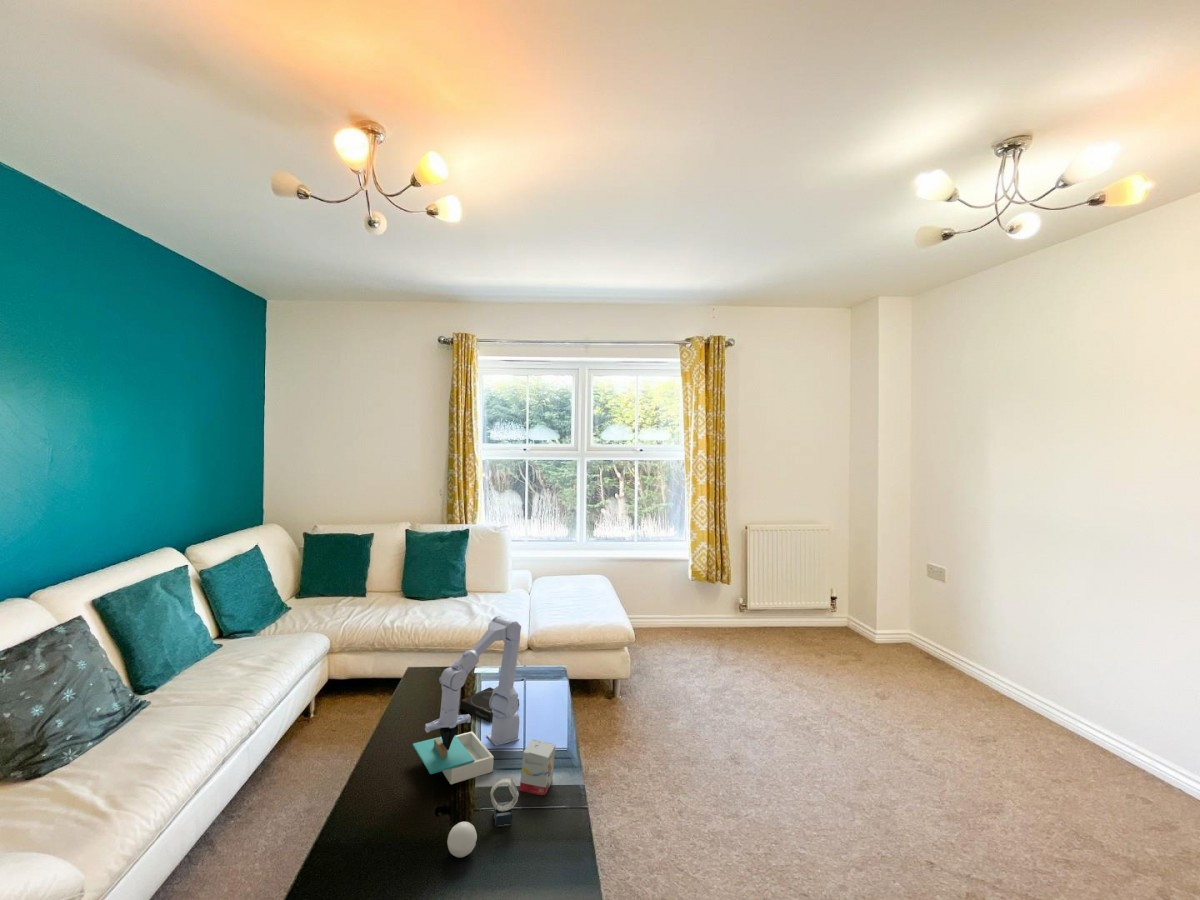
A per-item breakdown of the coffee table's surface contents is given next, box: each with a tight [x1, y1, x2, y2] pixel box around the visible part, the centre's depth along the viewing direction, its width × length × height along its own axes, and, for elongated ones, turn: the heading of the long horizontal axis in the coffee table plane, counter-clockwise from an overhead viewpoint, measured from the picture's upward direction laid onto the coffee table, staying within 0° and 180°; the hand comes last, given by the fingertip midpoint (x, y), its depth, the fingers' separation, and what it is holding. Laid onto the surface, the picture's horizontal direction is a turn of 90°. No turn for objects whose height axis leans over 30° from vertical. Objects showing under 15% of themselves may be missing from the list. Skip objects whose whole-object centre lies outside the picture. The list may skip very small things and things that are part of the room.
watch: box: [489, 777, 520, 826], centre depth 145 cm, size 6×8×11 cm
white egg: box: [446, 821, 478, 858], centre depth 133 cm, size 10×7×7 cm
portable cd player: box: [459, 686, 520, 723], centre depth 209 cm, size 16×17×4 cm
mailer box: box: [441, 731, 495, 785], centre depth 170 cm, size 14×18×5 cm
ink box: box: [519, 739, 557, 796], centre depth 162 cm, size 9×9×12 cm
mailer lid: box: [412, 734, 474, 775], centre depth 166 cm, size 14×18×3 cm
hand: (446, 748), depth 167 cm, fingers closed
